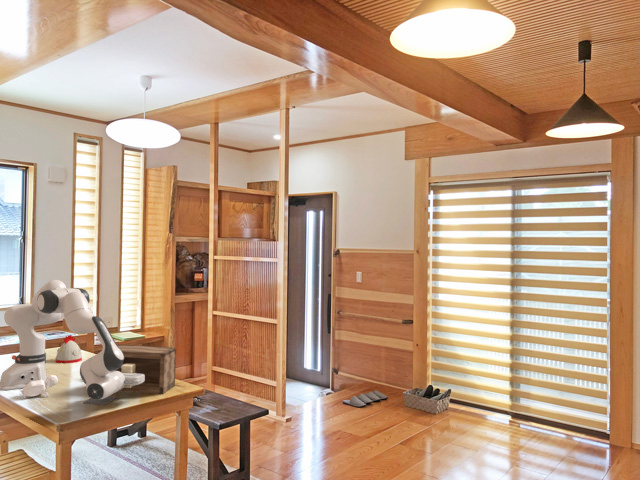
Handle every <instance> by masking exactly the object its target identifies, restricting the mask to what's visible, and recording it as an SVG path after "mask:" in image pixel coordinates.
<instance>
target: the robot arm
mask: <svg viewBox="0 0 640 480" xmlns="http://www.w3.org/2000/svg"><path fill="white" fill-rule="evenodd" d="M90 298H91V297H90V295H89V292H88V291H87V289H84V288H79V287H70V288H69V287H68V288H67V286H66V284H65V283H64V282H63V281H62V280H59V279H51V280H50V281H48V282H47V283H44V284H43V286H42V287H40V288H39V289H38V291H37V292H35V295H34V296H32V299H31V303H23V304H16V305H13V306H9V307H7V308H6V310H5V312H4V313H3V314H4V316H3V319H4V323H6V326H8V327H10V328H12V329H13V330H14V331H15V332H16V334H17V336H18V342H19V354H18V355H15V354H13V355H11V359H12V360H13V361H14V363H12V364H11V365H10V366H9V367H8V368H6V369H5V370H3V372H2V373H1V375H0V390H1V391H9V390H17V389H24V388H25V386H26V385H27V384H28V383H29V382H31V381H37V380H44V381H46V379H47V377H48V376H47V372H46V362H47V353H46V337H45V336H44V334H42V333H40V332H37V331H36V330H35V327H36V326H46V325H51V324H55V323H58V321H60V319H61V317H62V314H63V315H64V316H63V317H64V319H65V320H64V321H65V324H66V327H67V328H68V330H69V331H71V332H72V333H74V334H78V335H79V334H80V335H84V334H91V333H94V334H95V335H96V336H97V338H98V341H99V342H100V344H101V346H102V350H101V351H100V352H97V354H94V355H93V356H91V357H89V358H87V359H85V361H82V363H81V364H80V367H79V376H80V378H81V380H82V383H84V385H86V394H87V396H88V397H89V399H90V398H92V399H95V400H100V399H104V398H106V397H108V396H111V395H113V394H116V393H117V392H120V391H119V390H121V389H122V388H123V387H124V385H138V384H141V383H143V382H144V381H145V375H144V374H137V373H121V372H119V371H115V370H117V369H119V368H121V367H122V365H123V362H124V355H123V353H122V351H121V350H120V348H119V347H118V346H117V345H118V344H117V343H116V340H115V339H114V338H113V335H112V334H111V332H110V330H109V328H108V326H107V325H106V324H105V322H104V320H103V319H102V318H101V317H99V316H95V314H93V311H92V308H91V306H90Z"/></svg>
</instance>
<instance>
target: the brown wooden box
mask: <svg viewBox="0 0 640 480" xmlns="http://www.w3.org/2000/svg"><path fill="white" fill-rule="evenodd" d="M117 346H118V347H119V348H120V350H121V351H122V353H123V355H124V362H123V365H124V364H135V373H137V374H144V375H145V381H144V382H143V383H141V384H138V385H135V386H133V387H131V388H122V389H121V390H119V391H118V392H121V391H122V392H123V393H124V392H125V393H138V394H139V393H140V394H141V393H142V394H154V395H155V394H156V395H157V394H159V395H164V394H166V393H167V392H169V391H170V390H172V389H173V388H174V387H176V362H177V361H176V359H177V356H176V355H177V347H172V346H171V347H170V346H169V347H167V346H152V345H151V346H149V345H133V344H132V345H130V344H128V345H127V344H117ZM115 371H119V372H121V368H119V369H117V370H115Z"/></svg>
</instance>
